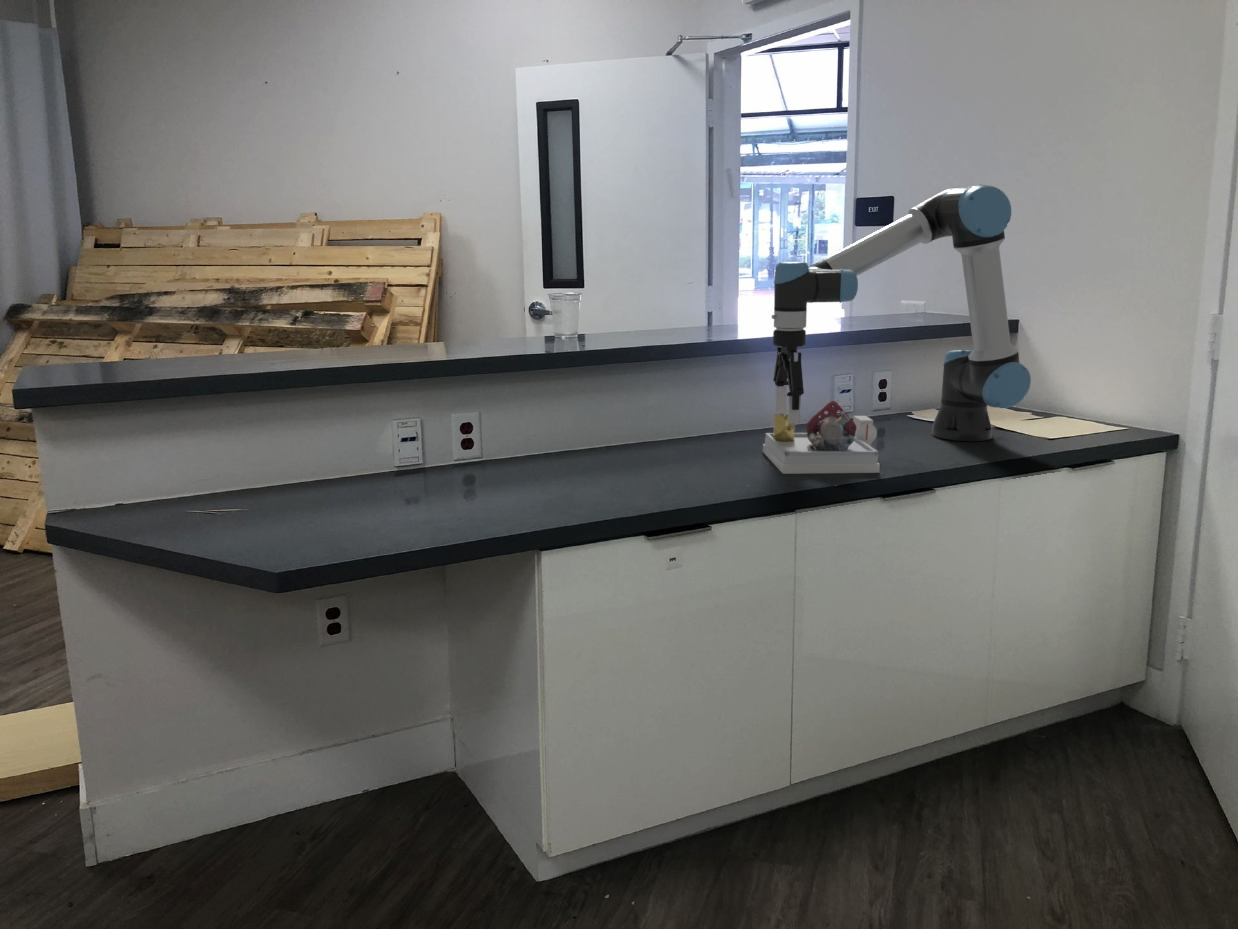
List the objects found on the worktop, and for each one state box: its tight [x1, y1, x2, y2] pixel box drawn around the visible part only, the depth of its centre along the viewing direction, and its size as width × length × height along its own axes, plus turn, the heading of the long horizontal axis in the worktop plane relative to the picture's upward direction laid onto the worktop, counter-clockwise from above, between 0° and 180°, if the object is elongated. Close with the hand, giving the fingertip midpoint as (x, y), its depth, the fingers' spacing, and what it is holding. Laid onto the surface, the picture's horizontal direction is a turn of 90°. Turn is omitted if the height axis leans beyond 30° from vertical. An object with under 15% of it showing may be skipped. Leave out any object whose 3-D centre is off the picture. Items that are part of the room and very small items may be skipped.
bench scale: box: [762, 415, 881, 475], centre depth 227 cm, size 26×22×9 cm
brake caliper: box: [805, 400, 857, 451], centre depth 222 cm, size 11×11×12 cm
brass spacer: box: [773, 412, 796, 442], centre depth 232 cm, size 5×5×6 cm
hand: (787, 417), depth 232 cm, fingers open, 13 cm apart
